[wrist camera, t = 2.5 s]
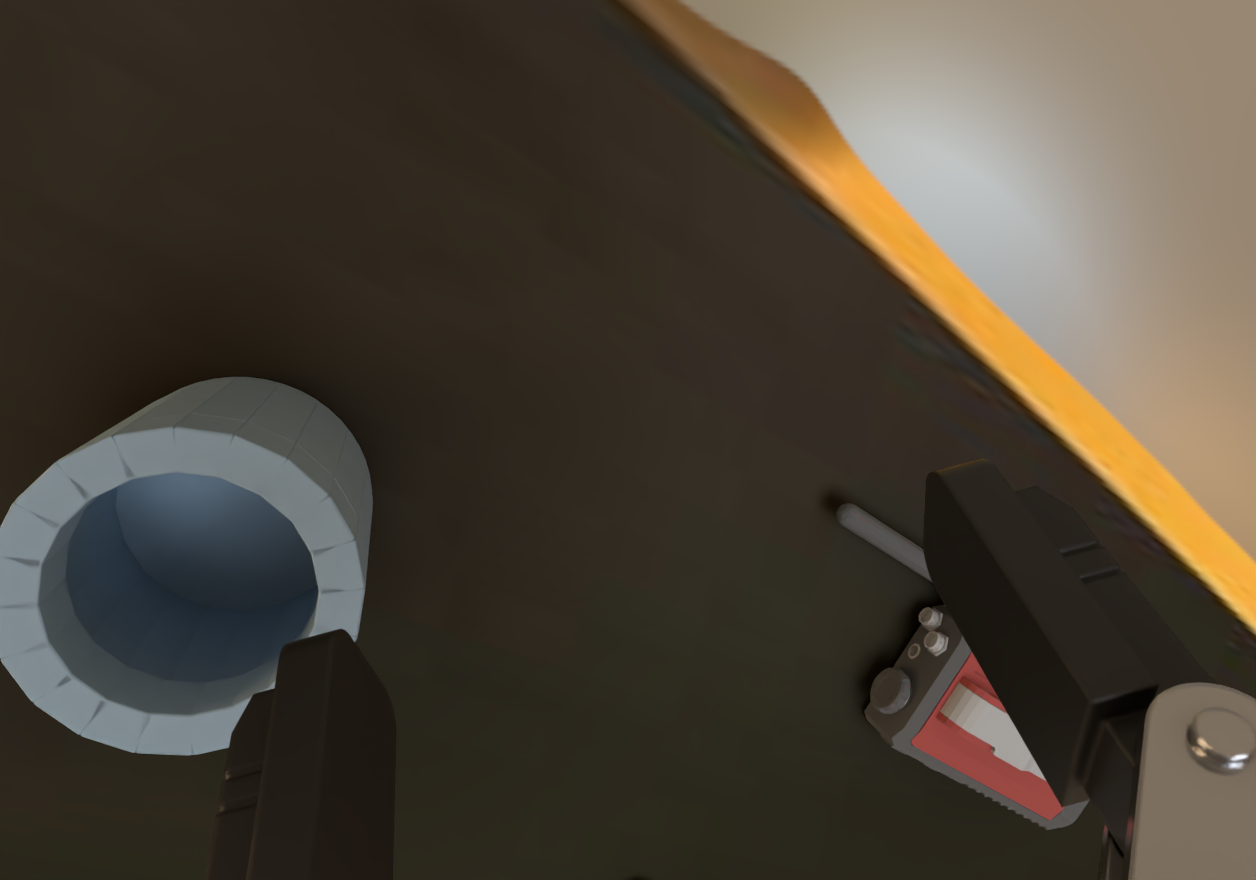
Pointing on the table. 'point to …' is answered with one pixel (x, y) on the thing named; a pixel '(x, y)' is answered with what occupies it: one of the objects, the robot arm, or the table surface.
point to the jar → (183, 563)
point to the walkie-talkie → (951, 703)
